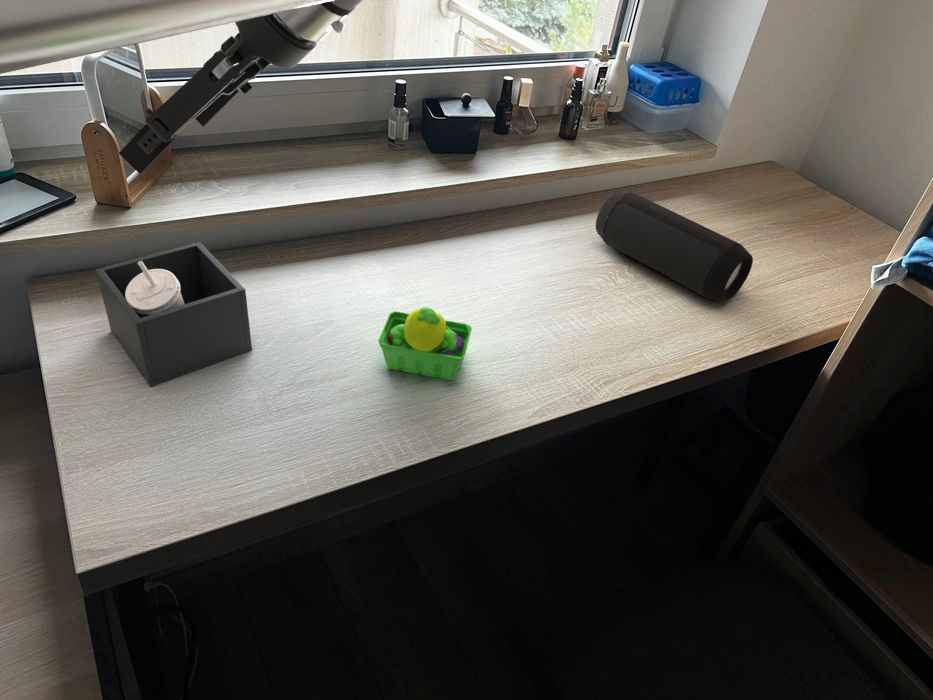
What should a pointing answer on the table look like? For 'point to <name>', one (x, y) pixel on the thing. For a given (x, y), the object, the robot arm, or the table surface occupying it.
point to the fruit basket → (424, 343)
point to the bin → (179, 314)
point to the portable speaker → (674, 245)
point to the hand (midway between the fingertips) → (165, 138)
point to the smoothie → (153, 291)
